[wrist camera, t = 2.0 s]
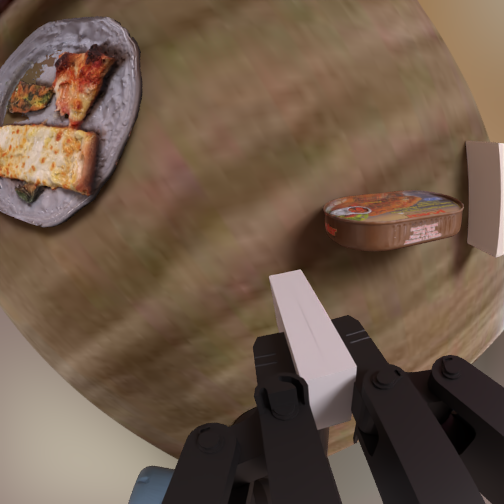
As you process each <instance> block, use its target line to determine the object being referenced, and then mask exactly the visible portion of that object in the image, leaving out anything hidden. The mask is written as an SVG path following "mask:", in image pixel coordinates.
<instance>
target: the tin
mask: <svg viewBox="0 0 504 504" xmlns="http://www.w3.org/2000/svg"><path fill="white" fill-rule="evenodd" d="M463 209H464V205H463V203H462V202H461V201H459V200H457V199H455V198H453V197H450V196H447V195H443V194H439V193H434V192H428V191H417V190H410V191H395V192H386V193H376V194H366V195H357V196H349V197H343V198H339V199H335V200H332V201H330V202H328V203H326V204H325V205H324V207H323V211H324V213H325V228H326V233H327V235H328V236H329V237H330V238H331V239H332V240H334V241H335V242H337V243H338V244H340V245H341V246H344V247H346V248H350V249H354V250H360V251H389V250H394V249H399V248H404V247H409V246H413V245H418V244H422V243H427V242H431V241H436V240H440V239H444V238H448V237H452V236H454V235H456V234H457V233H458V232H459V231H460V228H461V221H462V212H463Z"/></svg>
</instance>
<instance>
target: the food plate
mask: <svg viewBox="0 0 504 504" xmlns="http://www.w3.org/2000/svg"><path fill="white" fill-rule="evenodd" d="M74 41H75V42H74ZM65 48H66V49H65ZM61 49H62V51H61V52H59V51H58V52H56V51H57V50H61ZM75 49H78V50H75ZM64 51H65V52H64ZM53 53H54V55H53V57H56V58H57V60H56V59H55V63H54V66H53V67H47V65H46V64H45V65H42V67H43V71H44V70H45V72H44V73H43V74H42V75H40V78H37V79H36V85H35V84H34V83H33V84H29V83H26V82H24V81H23V80H22V81H20V82H19V80H20V78H23V76H24V74H25V72H26V71H27V70H28V69H30V68H31V67H32V68H33V65H34V63H36V62H37V63H40V62H42V61H44V60H45V59H46V57H45V56H46V55H48V59H49V58H50V57H49V55H51V54H53ZM56 53H58V54H56ZM140 53H141V52H140V49H139V46H138V45H137V42H136V40H135V39H133V37H132V38H131V37H130V34H129V32H128V31H127V29H126V28H123V27H122V26H121V24H120V23H119V22H118V21H116V20H113V19H111V18H109V17H82V18H72V19H63V20H57V21H56V22H55V21H54V22H48V23H47V24H45V25H43V26H41V27H39V28H38V29H37V30H35V31H34V32H33V33H32V34H31V35H30V36H28V37H27V38H26V39H25V40H24V41H23V43H22V44H20V45H19V47H18V48H17V49H16V50H15V51H14V52H13V53H12V54H11V56H10V57H9V58H8V59H7V60H6V62H5V64H4V65H3V66H2V67H1V69H0V211H1V209H2V211H1V212H3V213H5V214H7V213H8V214H7V215H9V214H10V215H9V216H12V217H14V218H17V219H19V220H22V221H25V222H27V221H28V223H30V222H31V223H32V224H34V225H35V224H36V225H37V226H38V225H42V226H41V227H54V226H56V225H59V224H61V223H63V222H65V221H67V220H68V219H69V218H71V217H72V216H73V215H74V214H76V213H77V212H78V211H79V210H81V208H83V207H85V206H86V205H88V204H89V203H90V202H92V201H93V200H94V199H95V198H96V196H97V195H98V193H99V191H100V189H101V188H102V186H103V185H104V184H105V183H106V181H108V180H109V179H110V177H111V175H112V173H113V172H114V170H115V169H116V166H117V162H118V159H120V157H121V155H122V153H123V150H124V147H125V146H126V143H127V140H128V138H129V136H130V134H131V131H132V128H133V126H134V123H135V121H136V119H137V117H138V112H139V110H140V109H139V107H140V104H141V100H142V98H141V97H142V76H141V71H140V70H141V69H140ZM59 54H60V56H57V55H59ZM51 57H52V56H51ZM58 57H59V58H58ZM32 68H31V69H32ZM39 70H40V69H39ZM41 70H42V69H41ZM41 70H40V71H41ZM32 72H33V71H32ZM36 73H37V72H36ZM26 75H27V74H26ZM35 77H36V76H35ZM33 80H35V78H34V79H33ZM18 83H19V85H18V87H17V91H14V89H15V87H16V85H17V84H18ZM13 91H14V92H13ZM12 92H13V94H12ZM11 94H12V97H11ZM10 97H11V98H10ZM7 109H8V110H9V111H10V112H11V113H14V112H21V113H23V114H24V113H25V116H26V114H27V117H29V122H28V119H27V120H25V121H21V122H18V123H17V122H14V124H13V123H12V124H9V125H6V126H3V127H2V125H3V122H4V117H5V114H6V110H7ZM31 111H32V112H31ZM23 114H22V116H23ZM66 114H68V115H69V118H65V115H66ZM31 223H30V224H31ZM39 227H40V226H39Z"/></svg>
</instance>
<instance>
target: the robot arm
mask: <svg viewBox="0 0 504 504" xmlns="http://www.w3.org/2000/svg"><path fill="white" fill-rule="evenodd" d="M269 280H270V286H271V291H272V297H273V303H274V308H275V314H276V320H277V325H278V329H279V333H276V334H271V335H266V336H261V337H257V339H256V341H255V343H254V346H253V352H254V360H255V368H256V375H257V383H258V385H257V387H256V388H255V393H254V398H255V401H256V404H257V407H256V408H254V409H252V410H250V411H248V412H246V413H245V414H243V415H242V416H241V417H239V418H238V419H237V421H236V422H235V423H234V425H232V426H230V427H227V426H226V425H223V424H219V423H207V424H204V425H201V426H198V427H197V428H196V429H194V430H193V431H192V432H191V433H190V435H189V436H188V438H187V440H186V442H185V445H184V447H183V450H182V452H181V455H180V458H179V460H178V463H177V465H176V468H175V469H169V468H163V467H158V466H149V467H146V468H144V469H143V470H142V471H141V472H140V474H139V476H138V478H137V481H136V483H135V486H134V488H133V491H132V494H131V497H130V500H129V503H128V504H342V502H341V498H340V495H339V492H338V489H337V486H336V482H335V479H334V476H333V473H332V470H331V467H330V464H329V460H328V457H327V451H328V438H329V427H330V426H334V425H337V424H340V423H344V422H347V421H350V420H351V414H353V416H354V418H355V421H356V427H355V432H354V437H353V441H354V444H355V443H357V440H359V442H360V445H361V447H362V450H363V452H364V455H365V457H366V460H367V462H368V465H369V467H370V470H371V472H372V475H373V477H374V480H375V483H376V485H377V488H378V491H379V493H380V496H381V498H382V501H383V504H485V502H484V500H483V498H482V496H481V494H482V495H483V496H484V497H486V499H488V500H489V501H490V502H491V503H492V504H504V388H503V387H502V386H501V385H499V384H498V383H497V382H495V381H494V380H492V379H491V378H490V377H488V376H487V375H485V374H484V373H483V372H481V371H480V370H478V369H477V368H476V367H474V366H473V365H471V364H470V363H468V362H467V361H466V360H464V359H462V358H460V357H458V356H453V355H448V356H443V357H441V358H439V359H437V360H436V361H435V363H434V364H433V366H432V369H431V370H426V371H419V372H404V371H403V370H402V369H401V368H400V367H397V366H395V365H391V364H389V363H388V362H387V361H386V359H385V358H384V357H383V355H382V354H381V352H380V351H379V349H378V348H377V346H376V345H375V344H374V342H373V341H372V339H371V338H369V335H368V334H367V332H366V331H365V330H364V328H363V326H362V325H361V324H360V322H359V321H358V320H356V319H354V318H353V317H351V316H349V315H347V316H343V317H339V318H335V319H332V320H330V318H329V316H328V315H327V313H326V311H325V309H324V308H323V306H322V304H321V303H320V301H319V299H318V298H317V296H316V294H315V292H314V291H313V289H312V287H311V286H310V284H309V282H308V281H307V279H306V277H305V276H304V274H303V272H302V271H301V269H300V270H295V271H291V272H286V273H281V274H276V275H271V276H269ZM480 493H481V494H480Z"/></svg>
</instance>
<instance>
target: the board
mask: <svg viewBox="0 0 504 504" xmlns="http://www.w3.org/2000/svg"><path fill="white" fill-rule="evenodd" d="M465 142H466V151H467V163H468V181H469V219H468V237H467V243H468V244H470V245H472V246H474V247H476V248H478V249H480V250H482V251H484V252H486V253H488V254H490V255H492V256H494V257H499V256H501V255H503V254H504V143H492V142H479V141H465Z"/></svg>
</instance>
